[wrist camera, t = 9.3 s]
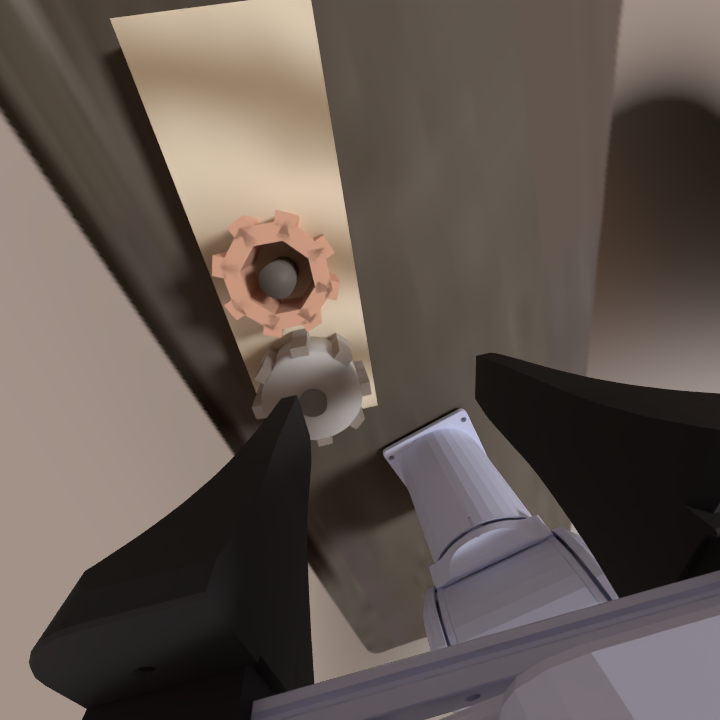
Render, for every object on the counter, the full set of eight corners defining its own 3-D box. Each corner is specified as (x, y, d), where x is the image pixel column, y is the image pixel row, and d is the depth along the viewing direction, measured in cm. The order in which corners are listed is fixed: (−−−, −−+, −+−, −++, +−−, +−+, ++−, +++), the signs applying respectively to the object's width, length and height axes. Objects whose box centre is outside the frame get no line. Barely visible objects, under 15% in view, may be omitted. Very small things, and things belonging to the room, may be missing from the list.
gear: (322, 205, 15) (324, 200, 12) (343, 309, 17) (348, 323, 15) (214, 224, 14) (191, 224, 12) (251, 327, 17) (239, 346, 14)
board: (373, 394, 22) (388, 436, 18) (273, 416, 22) (262, 465, 17) (310, 17, 13) (307, -96, 8) (132, 41, 12) (29, -65, 8)
